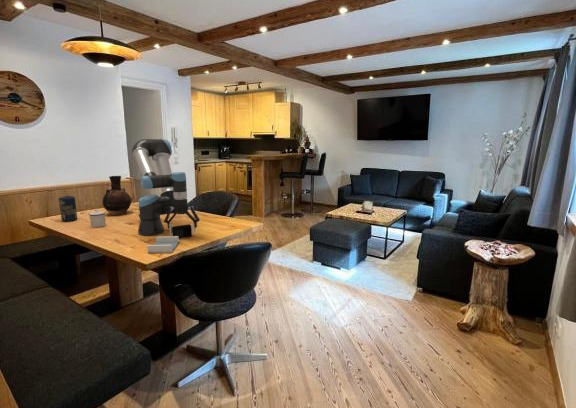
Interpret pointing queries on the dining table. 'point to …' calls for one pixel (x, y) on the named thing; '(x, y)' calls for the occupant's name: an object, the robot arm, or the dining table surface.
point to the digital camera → (182, 231)
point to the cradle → (164, 244)
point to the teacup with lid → (97, 218)
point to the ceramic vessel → (116, 198)
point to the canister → (68, 208)
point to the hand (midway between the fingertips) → (182, 233)
